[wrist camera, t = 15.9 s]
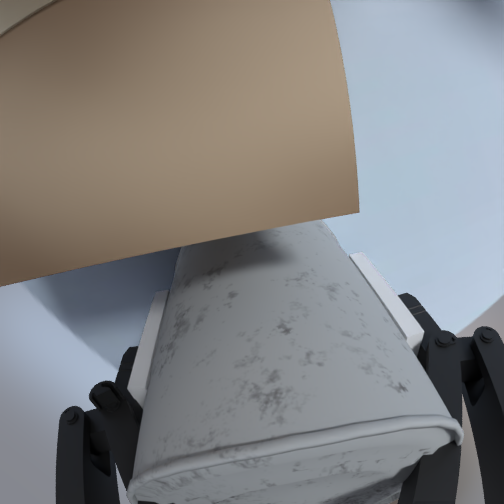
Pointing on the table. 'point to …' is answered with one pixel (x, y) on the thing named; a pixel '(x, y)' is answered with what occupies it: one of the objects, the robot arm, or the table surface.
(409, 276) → the table surface
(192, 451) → the grey cylinder
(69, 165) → the lid
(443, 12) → the table surface
